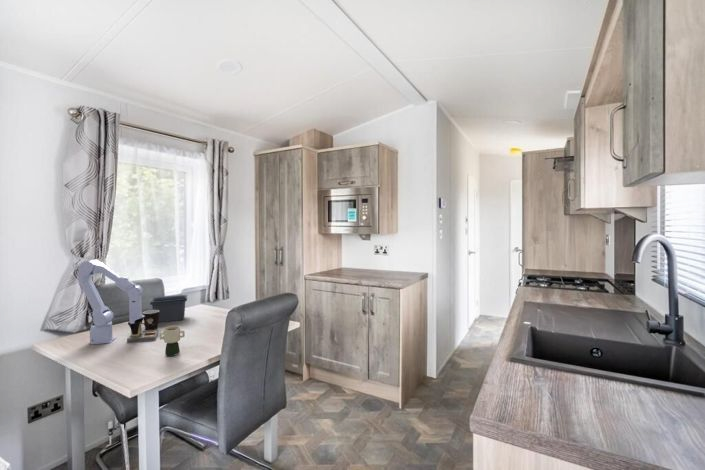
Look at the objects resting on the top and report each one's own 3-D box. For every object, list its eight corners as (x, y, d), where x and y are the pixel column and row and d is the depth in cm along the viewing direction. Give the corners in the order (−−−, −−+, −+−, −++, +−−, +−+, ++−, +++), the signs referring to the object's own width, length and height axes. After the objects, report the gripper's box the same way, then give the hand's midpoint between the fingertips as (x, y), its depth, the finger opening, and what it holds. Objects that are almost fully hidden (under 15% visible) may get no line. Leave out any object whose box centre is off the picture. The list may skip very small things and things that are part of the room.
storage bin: (149, 324, 217) (148, 301, 216) (152, 317, 231) (152, 296, 231) (187, 320, 225) (186, 298, 225) (188, 314, 240) (188, 293, 239)
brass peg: (131, 340, 189) (130, 324, 188) (133, 338, 192) (132, 322, 192) (139, 340, 190) (139, 323, 189) (141, 337, 194) (141, 321, 193)
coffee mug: (162, 326, 213) (162, 310, 213) (153, 331, 205) (153, 314, 204) (144, 325, 215) (144, 309, 214) (134, 330, 206) (134, 313, 206)
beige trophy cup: (185, 350, 175) (185, 324, 175) (184, 355, 169) (183, 329, 168) (161, 353, 172) (160, 327, 171) (158, 358, 165) (157, 331, 164)
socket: (127, 342, 186) (126, 338, 186) (132, 337, 194) (132, 333, 194) (154, 340, 190) (154, 336, 190) (158, 334, 198) (158, 330, 198)
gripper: (140, 311, 184) (140, 336, 185) (147, 304, 198) (148, 328, 199) (124, 312, 182) (125, 337, 183) (133, 305, 196) (133, 329, 197)
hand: (136, 333), depth 191 cm, fingers closed on brass peg, 4 cm apart
